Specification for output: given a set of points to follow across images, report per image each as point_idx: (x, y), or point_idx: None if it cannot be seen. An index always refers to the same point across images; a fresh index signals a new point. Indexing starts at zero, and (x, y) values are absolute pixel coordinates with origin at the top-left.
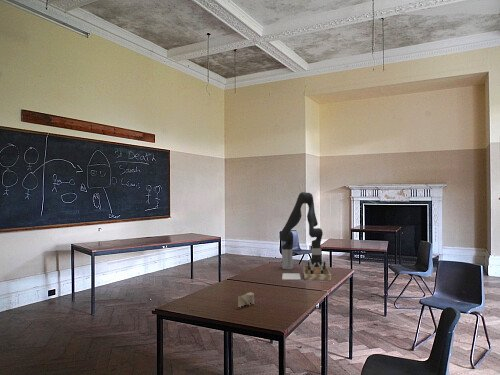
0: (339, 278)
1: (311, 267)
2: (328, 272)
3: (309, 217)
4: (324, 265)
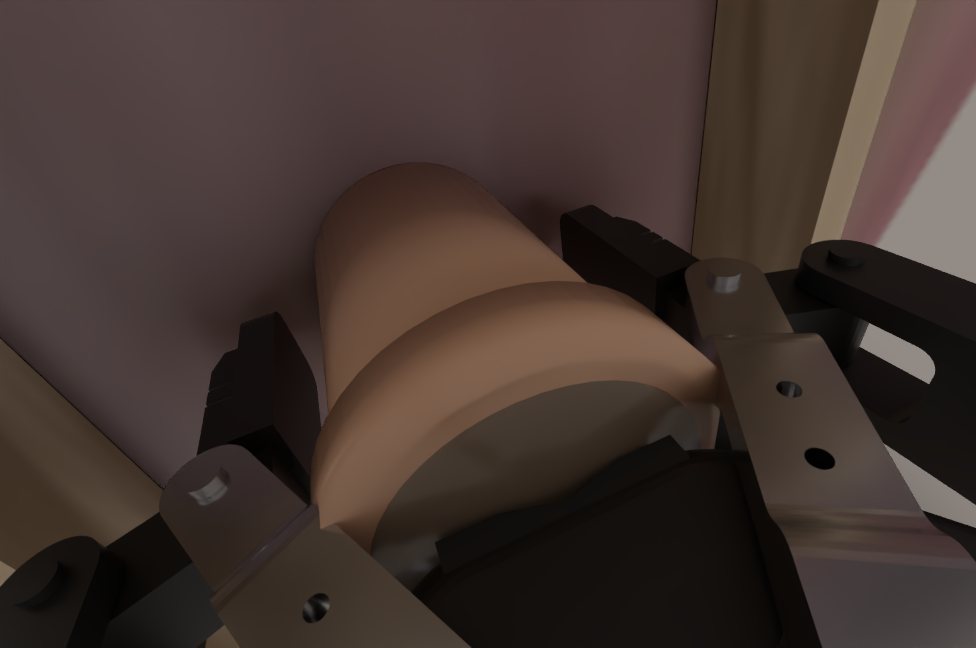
0: (854, 227)
1: (231, 566)
2: (799, 252)
3: None
4: (955, 455)
